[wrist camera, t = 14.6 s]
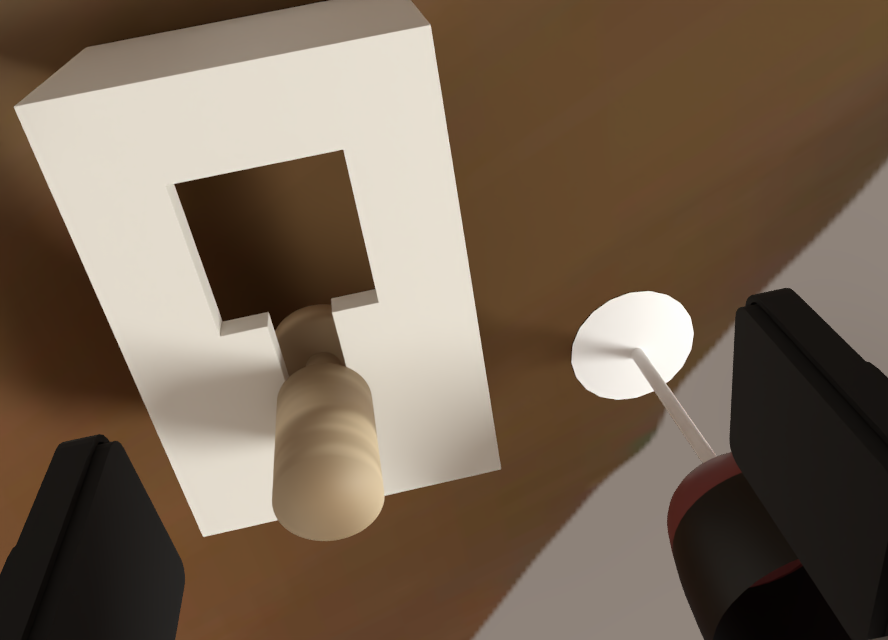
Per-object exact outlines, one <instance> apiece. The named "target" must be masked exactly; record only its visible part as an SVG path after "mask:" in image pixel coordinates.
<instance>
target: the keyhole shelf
mask: <svg viewBox="0 0 888 640" xmlns="http://www.w3.org/2000/svg"><path fill="white" fill-rule="evenodd" d="M14 109H15V111H16V113H17V115H18V118H19V120H20V122H21V124H22V127H23V129H24V131H25V134H26V136H27V138H28V140H29V143H30V145H31V147H32V149H33V152H34V154H35V156H36V159H37V161H38V163H39V165H40V168H41V170H42V172H43V174H44V177H45V179H46V181H47V183H48V186H49V188H50V190H51V193H52V195H53V197H54V199H55V202H56V204H57V206H58V208H59V211H60V213H61V215H62V218H63V220H64V222H65V224H66V227H67V229H68V231H69V233H70V236H71V238H72V240H73V242H74V245H75V247H76V249H77V252H78V254H79V256H80V258H81V261H82V263H83V265H84V267H85V270H86V272H87V274H88V277H89V279H90V281H91V283H92V286H93V288H94V290H95V292H96V295H97V297H98V299H99V301H100V304H101V306H102V308H103V311H104V313H105V315H106V317H107V320H108V322H109V324H110V326H111V329H112V331H113V333H114V336H115V338H116V340H117V342H118V345H119V347H120V349H121V351H122V354H123V356H124V358H125V360H126V363H127V365H128V367H129V370H130V372H131V374H132V376H133V379H134V381H135V383H136V385H137V388H138V390H139V392H140V395H141V397H142V399H143V401H144V404H145V406H146V408H147V410H148V413H149V415H150V417H151V419H152V422H153V424H154V426H155V429H156V431H157V433H158V435H159V438H160V440H161V442H162V444H163V447H164V449H165V451H166V454H167V456H168V458H169V460H170V463H171V465H172V467H173V469H174V472H175V474H176V476H177V478H178V481H179V483H180V485H181V488H182V490H183V492H184V494H185V497H186V499H187V501H188V503H189V506H190V508H191V510H192V513H193V515H194V517H195V519H196V522H197V524H198V526H199V528H200V531H201V533H202V535H203V537H205V536H210V535H214V534H219V533H223V532H227V531H232V530H236V529H241V528H245V527H249V526H254V525H258V524H262V523H267V522H271V521H276V520H278V519H277V518H276V516H275V514H274V511H273V507H272V488H273V469H274V449H275V429H276V410H277V397H278V393H279V391H280V388H281V386H282V385H283V383H284V382H285V381H286V380H287V378H289V375H288V372H287V368H286V365H285V362H284V359H283V356H282V353H281V349H280V346H279V343H278V340H277V337H276V334H275V331H274V327H273V324H272V321H271V318H270V315H269V312H266V313H261V314H256V315H252V316H247V317H242V318H238V319H233V320H228V321H222V318H221V316H220V313H219V310H218V307H217V304H216V302H215V299H214V296H213V293H212V290H211V287H210V285H209V282H208V279H207V276H206V273H205V270H204V268H203V265H202V262H201V259H200V256H199V253H198V251H197V248H196V245H195V242H194V239H193V236H192V234H191V231H190V228H189V225H188V222H187V219H186V217H185V214H184V211H183V208H182V205H181V203H180V200H179V197H178V194H177V191H176V188H175V186H174V184H176V183H181V182H186V181H191V180H196V179H200V178H205V177H210V176H215V175H220V174H225V173H230V172H235V171H240V170H245V169H250V168H254V167H259V166H264V165H269V164H274V163H279V162H284V161H289V160H294V159H299V158H304V157H308V156H313V155H318V154H323V153H328V152H333V151H338V150H344V154H345V159H346V163H347V167H348V172H349V176H350V180H351V185H352V189H353V193H354V198H355V202H356V206H357V211H358V215H359V219H360V224H361V228H362V232H363V237H364V241H365V245H366V250H367V254H368V258H369V263H370V267H371V271H372V275H373V280H374V284H375V288H376V289H373V290H369V291H364V292H359V293H355V294H350V295H345V296H341V297H336V298H331V305H332V315H333V318H334V322H335V326H336V330H337V333H338V337H339V341H340V344H341V348H342V352H343V356H344V359H345V363H346V367H348V368H350V369H352V370H354V371H355V372H357V373H358V374H359V375H361V376H362V377H363V378H364V380H365V381H366V382H367V384H368V386H369V388H370V391H371V394H372V401H373V409H374V416H375V424H376V432H377V440H378V448H379V455H380V463H381V471H382V479H383V487H384V496H386V495H390V494H394V493H399V492H403V491H408V490H412V489H416V488H421V487H425V486H430V485H434V484H438V483H443V482H447V481H452V480H456V479H460V478H465V477H469V476H474V475H478V474H482V473H487V472H491V471H496V470H500V469H501V465H500V459H499V453H498V446H497V440H496V434H495V428H494V421H493V415H492V409H491V402H490V396H489V390H488V384H487V377H486V371H485V365H484V358H483V352H482V346H481V339H480V333H479V327H478V321H477V314H476V308H475V302H474V295H473V289H472V283H471V277H470V270H469V264H468V258H467V251H466V245H465V239H464V232H463V226H462V220H461V214H460V207H459V201H458V195H457V188H456V182H455V176H454V170H453V163H452V157H451V151H450V144H449V138H448V132H447V125H446V119H445V113H444V107H443V100H442V94H441V88H440V81H439V75H438V69H437V63H436V56H435V50H434V44H433V37H432V31H431V25H430V24H429V22H428V21H427V20H426V19H425V17H424V16H423V15H422V14H421V12H420V11H419V10H418V9H417V7H416V6H415V5H414V4H413V2H412V1H411V0H328V1H323V2H318V3H313V4H308V5H302V6H297V7H292V8H287V9H282V10H277V11H271V12H266V13H261V14H256V15H251V16H246V17H240V18H235V19H230V20H225V21H220V22H215V23H209V24H204V25H199V26H194V27H189V28H184V29H178V30H173V31H168V32H163V33H158V34H153V35H147V36H142V37H137V38H132V39H127V40H122V41H116V42H111V43H106V44H101V45H96V46H90V47H86V48H84V49H83V50H82V51H81V52H80V53H78V54H77V55H76V56H75V57H74V58H72V59H71V60H70V61H69V62H67V63H66V64H65V65H64V66H63V67H61V68H60V69H59V70H58V71H57V72H55V73H54V74H53V75H52V76H50V77H49V78H48V79H47V80H46V81H44V82H43V83H42V84H41V85H39V86H38V87H37V88H36V89H35V90H33V91H32V92H31V93H30V94H29V95H27V96H26V97H25V98H24V99H22V100H21V101H20V102H19V103H18V104H16V105H15V106H14Z"/></svg>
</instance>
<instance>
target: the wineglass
mask: <svg viewBox="0 0 888 640" xmlns="http://www.w3.org/2000/svg"><path fill="white" fill-rule="evenodd" d="M693 335H694V332H693V327H692V322H691V317H690V316H689V314H688V313H687V311H686V310H685V308H684V307H683V306H682V304H681V303H679V302H678V301H676V300H674V299H673V298H671V297H670V296H668V295H665V294H661V293H656V292H652V291H644V292H633V293H628V294H625V295H622V296H620V297H617V298H614V299H612V300H609V301H608V302H607V303H605V304H604V305H602V306H601V307H600V308H598V309H597V310H595V311H594V312H593V313H592V314H591V315H590V316H589V317H588V319H587V320H586V321H585V322H584V323H583V325H582V326H581V327H580V329H579V331H578V333H577V336H576V338H575V340H574V343H573V346H572V360H571V363H572V366H573V369H574V372H575V375H576V378H577V379H578V380H579V381H580V382H581V384H582V385H583V386H584V387H585V388H586V389H587V390H589V391H591V392H592V393H594V394H596V395H598V396H600V397H604V398H610V399H616V400H620V399H629V398H637V397H639V396H642V395H645V394H647V393H650V392H653V391H655V393H656V394H657V396H658V397H659V399H660V400H661V402H662V403H663V405H664V406H665V408H666V409H667V411H668V412H669V414H670V415H671V417H672V418H673V420H674V421H675V423H676V424H677V426H678V427H679V429H680V430H681V432H682V433H683V435H684V436H685V438H686V439H687V441H688V442H689V444H690V445H691V447H692V448H693V450H694V451H695V453H696V454H697V456H698V457H699V459H700V460H701V462H702V464H701V465H699V466H698V467H696V468H695V469H694V470H693V471H692V472H690V473H689V474H688V475H687V476H686V477H685V479H684V480H683V481H682V482H681V484H680V485H679V486H678V488H677V489H676V491H675V492H674V494H673V496H672V499H671V502H670V506H669V511H668V516H667V517H668V518H667V526H668V534H669V539H670V544H671V548H672V553H673V556H674V560H675V564H676V567H677V571H678V574H679V578H680V581H681V584H682V587H683V590H684V592H685V596H686V598H687V600H688V603H689V605H690V608H691V610H692V612H693V615H694V617H695V620H696V622H697V625H698V627H699V629H700V632H701V634H702V636H703V638H704V640H852V639H851V638H850V637H849V635H848V634H847V632H846V631H845V629H844V628H843V626H842V625H841V623H840V621H839V620H838V618H837V617H836V615H835V614H834V612H833V611H832V609H831V608H830V606H829V605H828V603H827V602H826V600H825V599H824V597H823V595H822V594H821V592H820V591H819V589H818V588H817V586H816V585H815V583H814V582H813V580H812V579H811V577H810V576H809V574H808V573H807V571H806V569H805V568H804V566H803V565H802V563H801V562H800V560H799V559H798V557H797V556H796V554H795V553H794V551H793V550H792V548H791V547H790V545H789V543H788V542H787V540H786V539H785V537H784V536H783V534H782V533H781V531H780V530H779V528H778V527H777V525H776V524H775V522H774V521H773V519H772V518H771V516H770V514H769V513H768V511H767V510H766V508H765V507H764V505H763V504H762V502H761V501H760V499H759V498H758V496H757V495H756V493H755V492H754V490H753V488H752V487H751V485H750V484H749V482H748V481H747V479H746V478H745V476H744V475H743V473H742V472H741V470H740V469H739V467H738V466H737V464H736V462H735V460H734V458H733V455H732V452H730V453H726V454H723V455H720V456H716V455H715V453H714V451H713V450H712V448H711V447H710V446H709V444H708V443H707V442H706V440H705V439H704V437H703V436H702V434H701V433H700V431H699V430H698V429H697V427H696V426H695V424H694V423H693V421H692V420H691V419H690V417H689V416H688V414H687V413H686V411H685V410H684V409H683V407H682V406H681V405H680V403H679V401H678V400H677V399H676V397H675V396H674V394H673V393H672V391H671V390H670V389H669V387H668V386H667V384H666V383H667V382H668V381H670V380H671V379H672V378H673V376H674V375H675V374H676V373H677V372H678V371H679V370H680V369H681V368H682V366H683V365H684V363H685V361H686V359H687V357H688V355H689V353H690V351H691V347H692V341H693Z"/></svg>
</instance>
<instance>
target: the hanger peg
mask: <svg viewBox="0 0 888 640" xmlns="http://www.w3.org/2000/svg"><path fill="white" fill-rule="evenodd" d="M275 334H276V337H277V340H278V343H279V346H280V349H281V353H282V356H283V359H284V362H285V365H286V368H287V372H288V375H289V378H287V380H286V381H285V382H284V383H283V385H282V386H281V388H280V391H279V393H278V397H277V410H276V429H275V449H274V469H273V488H272V507H273V511H274V514H275V516H276V518H277V519H278V521H279V522H280V523H281V524H282V525H283V526H284V527H285V528H286V529H287V530H288V531H290V532H292V533H293V534H295V535H298V536H300V537H303V538H306V539H310V540H317V541H332V540H339V539H343V538H347V537H350V536H352V535H355V534H357V533H359V532H361V531H362V530H364V529H365V528H367V527H368V526H369V525H370V524H371V523H372V522H373V521H374V520H375V519H376V518H377V516H378V515H379V513H380V511H381V509H382V506H383V503H384V487H383V479H382V471H381V463H380V455H379V448H378V440H377V432H376V424H375V416H374V409H373V401H372V394H371V391H370V388H369V386H368V384H367V382H366V381H365V380H364V378H363V377H362V376H361V375H359V374H358V373H357V372H355V371H354V370H352V369H350V368H348V367H346V363H345V359H344V356H343V352H342V348H341V344H340V341H339V337H338V333H337V330H336V326H335V322H334V318H333V315H332V305H331V304H316V305H310V306H306V307H303V308H301V309H298V310H296V311H294V312H293V313H291V314H290V315H288V316H287V317H286V318H285V319H284V320H283V321H282V322H281V323H280V324H279V325H278V327H277V329H276V330H275Z"/></svg>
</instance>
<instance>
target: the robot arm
mask: <svg viewBox="0 0 888 640" xmlns="http://www.w3.org/2000/svg"><path fill="white" fill-rule="evenodd" d="M733 359H734V360H733V379H732V399H731V421H730V448H731V452H732V455H733V458H734V460H735V462H736V464H737V466H738V467H739V469H740V470H741V472H742V473H743V475H744V476H745V478H746V479H747V481H748V482H749V484H750V485H751V487H752V488H753V490H754V492H755V493H756V495H757V496H758V498H759V499H760V501H761V502H762V504H763V505H764V507H765V508H766V510H767V511H768V513H769V514H770V516H771V518H772V519H773V521H774V522H775V524H776V525H777V527H778V528H779V530H780V531H781V533H782V534H783V536H784V537H785V539H786V540H787V542H788V543H789V545H790V547H791V548H792V550H793V551H794V553H795V554H796V556H797V557H798V559H799V560H800V562H801V563H802V565H803V566H804V568H805V569H806V571H807V573H808V574H809V576H810V577H811V579H812V580H813V582H814V583H815V585H816V586H817V588H818V589H819V591H820V592H821V594H822V595H823V597H824V599H825V600H826V602H827V603H828V605H829V606H830V608H831V609H832V611H833V612H834V614H835V615H836V617H837V618H838V620H839V621H840V623H841V625H842V626H843V628H844V629H845V631H846V632H847V634H848V635H849V637H850V638H851V639H852V640H888V378H887V377H886V376H885V375H884V374H883V373H882V372H881V371H880V370H879V369H878V368H877V367H875V366H874V365H873V364H871V363H870V362H866V361H865V360H864V359H863V358H862V357H861V356H860V355H859V354H857V352H856V351H855V350H853V349H852V348H851V347H850V346H849V345H848V344H847V343H846V342H845V341H844V340H843V339H842V338H841V337H840V336H839V335H838V334H837V333H836V332H835V331H834V330H833V329H832V328H831V327H830V326H829V325H828V324H827V323H826V322H825V321H824V320H823V319H822V318H821V317H820V316H819V315H818V314H817V313H816V312H815V311H814V310H813V309H812V308H811V307H810V306H809V305H808V304H807V303H806V302H805V301H804V300H803V299H801V297H800V296H798V295H797V294H796V293H795V292H794V291H793V290H792V289H790V288H783V289H779V290H774V291H769V292H764V293H760V294H755V295H751V296H750V297H748V299H747V301H746V306H745V307H740V308H739V309H738V310H737V312H736V317H735V337H734V358H733ZM184 584H185V573H184V567H183V563H182V561H181V558H180V556H179V554H178V552H177V551H176V549H175V547H174V545H173V543H172V541H171V539H170V537H169V535H168V533H167V531H166V529H165V527H164V525H163V523H162V521H161V519H160V518H159V516H158V514H157V512H156V510H155V508H154V506H153V504H152V502H151V500H150V498H149V496H148V494H147V492H146V490H145V488H144V486H143V485H142V483H141V481H140V479H139V477H138V475H137V473H136V471H135V469H134V467H133V465H132V463H131V461H130V459H129V457H128V455H127V454H126V452H125V450H124V448H123V446H122V445H121V443H119V442H118V441H113V442H109V440H108V439H107V438H106V437H105V436H104V435H100V434H99V435H94V436H89V437H85V438H80V439H75V440H70V441H66V442H62V443H61V444H59V446H58V447H57V449H56V451H55V453H54V456H53V458H52V460H51V463H50V465H49V468H48V470H47V472H46V475H45V477H44V480H43V482H42V484H41V487H40V489H39V492H38V494H37V496H36V499H35V501H34V504H33V506H32V508H31V511H30V513H29V516H28V518H27V520H26V523H25V525H24V528H23V530H22V532H21V535H20V537H19V540H18V542H17V544H16V546H15V547H14V548H13V549H12V551H11V552H10V554H9V556H8V557H7V560H6V562H5V565H4V567H3V569H2V572H1V574H0V640H175V637H176V631H177V625H178V620H179V614H180V608H181V602H182V597H183V591H184Z"/></svg>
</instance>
